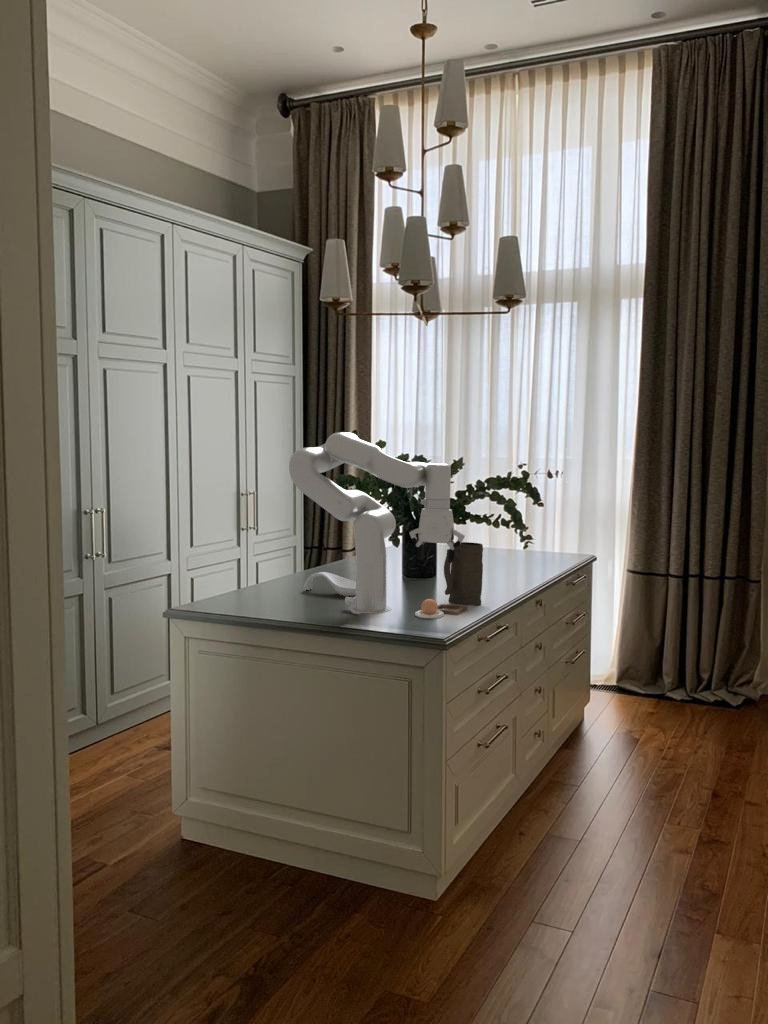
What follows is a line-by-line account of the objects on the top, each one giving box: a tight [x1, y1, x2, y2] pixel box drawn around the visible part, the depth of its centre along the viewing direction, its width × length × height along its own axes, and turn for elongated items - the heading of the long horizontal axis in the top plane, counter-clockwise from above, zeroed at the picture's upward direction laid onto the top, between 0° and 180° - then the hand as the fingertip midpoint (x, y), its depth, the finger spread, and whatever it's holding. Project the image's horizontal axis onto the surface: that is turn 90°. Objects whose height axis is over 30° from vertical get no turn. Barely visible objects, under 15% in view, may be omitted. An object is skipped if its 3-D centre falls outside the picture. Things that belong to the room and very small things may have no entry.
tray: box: [437, 603, 468, 616], centre depth 283 cm, size 9×9×2 cm
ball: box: [420, 598, 439, 615], centre depth 276 cm, size 5×5×5 cm
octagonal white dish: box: [414, 609, 445, 619], centre depth 276 cm, size 8×8×2 cm
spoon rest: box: [303, 571, 356, 597], centre depth 317 cm, size 24×12×7 cm, turn 64°
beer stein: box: [443, 541, 484, 606], centre depth 297 cm, size 15×11×20 cm
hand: (436, 561), depth 277 cm, fingers open, 9 cm apart
